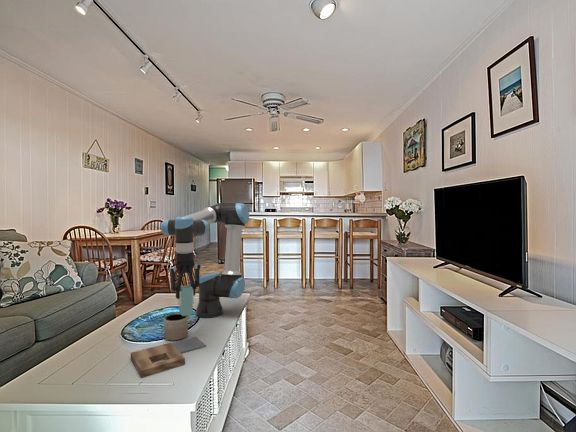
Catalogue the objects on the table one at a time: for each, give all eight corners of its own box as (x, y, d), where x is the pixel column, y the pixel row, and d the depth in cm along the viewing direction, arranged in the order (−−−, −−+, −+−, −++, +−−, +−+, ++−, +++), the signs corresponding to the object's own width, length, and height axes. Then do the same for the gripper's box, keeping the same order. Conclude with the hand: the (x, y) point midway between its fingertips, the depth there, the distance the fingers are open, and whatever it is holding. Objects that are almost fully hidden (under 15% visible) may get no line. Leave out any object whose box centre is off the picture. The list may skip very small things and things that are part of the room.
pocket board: (170, 348, 138) (170, 342, 138) (184, 364, 124) (184, 358, 124) (130, 358, 129) (130, 352, 129) (141, 377, 114) (141, 370, 114)
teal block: (189, 311, 143) (188, 284, 142) (192, 313, 139) (192, 287, 139) (179, 313, 140) (178, 286, 139) (182, 316, 136) (182, 288, 136)
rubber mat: (195, 337, 149) (195, 336, 149) (206, 346, 140) (206, 345, 140) (170, 344, 142) (170, 343, 142) (178, 354, 133) (178, 352, 133)
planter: (158, 338, 148) (158, 318, 148) (176, 330, 158) (176, 311, 158) (175, 343, 143) (175, 322, 143) (192, 334, 153) (192, 315, 153)
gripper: (200, 249, 147) (201, 298, 148) (161, 253, 136) (162, 306, 137) (207, 251, 141) (208, 302, 142) (166, 255, 130) (168, 311, 131)
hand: (185, 304), depth 139 cm, fingers closed on teal block, 4 cm apart
